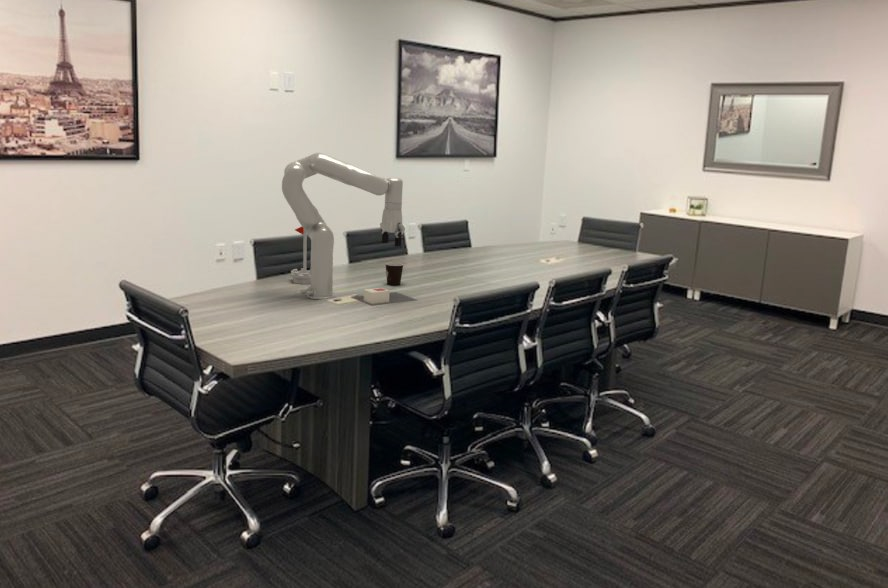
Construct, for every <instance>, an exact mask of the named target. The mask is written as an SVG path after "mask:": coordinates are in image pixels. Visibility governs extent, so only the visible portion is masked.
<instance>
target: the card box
mask: <svg viewBox="0 0 888 588" xmlns="http://www.w3.org/2000/svg"><path fill="white" fill-rule="evenodd" d="M389 293H391V292H390V290H388V289H386V288H384V287H376V288H367V289H363V296H364V301H365V302H368V303H370V304H376V303H385V302H389Z"/></svg>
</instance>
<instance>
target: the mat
mask: <svg viewBox="0 0 888 588" xmlns="http://www.w3.org/2000/svg"><path fill="white" fill-rule="evenodd" d="M350 298H351V299H353V300H357V301H358V302H362V303H364V304H367V305H368V306H371V307H374V306H375V307H376V306H382V305H384V306H385V305H390V304H400V303H407V302H415V301H416V302H417V299H416V298H413V297H411V296H408V295H405V294H402V293H400V292H397V291H391V292H390V293H389V302H385V303H376V304H370V303H368V302H365V301H364V295H357V296H350Z"/></svg>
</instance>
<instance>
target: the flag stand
mask: <svg viewBox="0 0 888 588" xmlns="http://www.w3.org/2000/svg"><path fill="white" fill-rule="evenodd" d="M294 231H295V232H297V233H299V234H300V235H303V236H302V237H303V240H302V241H303V243H302V244H303V245H302V247H303V251H302V252H303V253H302V254H303V255H302V256H303V257H302V259H303V261H302V262H303V263H302V267H303V268H300V270H298V268H293V269H292V270H291V271H290V276H291V277H292V279H293V280H292V281H293V283H294V284H298V285H299V284H300V285H311V268H310V269H309V270H307V253H308V252H307V247H308V245H307V241H308V239H307V236H308V234H307V233H306V232H305V230H304V229H303V227H302V226H299V227H297V228H295V229H294Z"/></svg>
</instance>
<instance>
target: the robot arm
mask: <svg viewBox="0 0 888 588" xmlns="http://www.w3.org/2000/svg"><path fill="white" fill-rule="evenodd" d="M283 173H284V174H283V177H282V179H281V191H282V194H283V197H284V199H285V200H286V202H287V203H288V206H289V207H290V208H291V210H292V212H293V213H294V215H295V218H296V220H297V221H298V223H299V224H300V225H301V226H300V227H303V229H304V230H305V232H306V233H307V236H308V237H309V238H310V240H311V241H310V245H311V246H310V269H311V284H310V286H309V285H308V287H307V288H305V289H299V292H300V294H301V295H306V297H307V298H308V299H312V300H328V299H332V298H333V299H334V298H336V297H337V294H336V293H335V292H333V282H334V281H333V279H334V278H333V272H334V269H333V268H334V263H333V262H334V245H335V237H334V236H335V235H334V232H333V231H332V229H331V228H330V227H329V226H328V225H327V223H326V222H325V220H324V218H323V216H322V215H321V214H320V213H319V210H318V209H317V207H316V206H315V205H314V204H313V202H312V201H311V200H310V198H309V196H308V195H307V193H306V191H305V190H304V187H303V183H304V181H305V179H308V178H310V177H313V176H315V175H318V174H319V175H322V176H324V177H327V178H330V179H332V180H334V181H337V182H339V183H342V184H343V185H347V186H351V187H355V188H358V189H360V190H363V191H365V192H367V193H370V194H373V195H376V196H383V195H384V208H383V210H382V216H381V217H382V218H381V222H380V223H379V225H380V231H381V244H388V243H389V236H390V235H389V233H391V234H393V233H394V236H395V237H394V247H395V248H396V247H398V248H399V247H402V238H403V236H404V234H405V230H406V229H405V227H404V226H403V212H402V209H403V208H402V205H403V187H404V186H403V183H404V181H403V179H401V178H397V177H388V178H386V177H380V176H376V175H375V174H372V173H370V172H366V171H364V170H363V169H360V168H358V167H356V166H355V165H352V164H350V163H348V162H345V161H343V160H340V159H337V158H335V157H332V156H330V155H327V154H325V153H322V152H314V153H313V154H310V155H308V156H305V157H303V158H300V159H298V160H295V161H292V162H290V163H288V164H287V165H286V166H285V168H284V171H283Z"/></svg>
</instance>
